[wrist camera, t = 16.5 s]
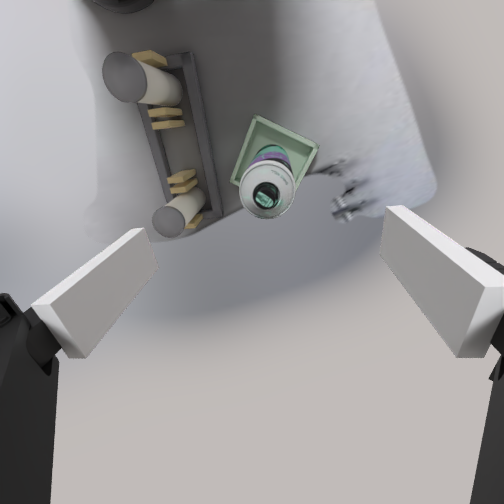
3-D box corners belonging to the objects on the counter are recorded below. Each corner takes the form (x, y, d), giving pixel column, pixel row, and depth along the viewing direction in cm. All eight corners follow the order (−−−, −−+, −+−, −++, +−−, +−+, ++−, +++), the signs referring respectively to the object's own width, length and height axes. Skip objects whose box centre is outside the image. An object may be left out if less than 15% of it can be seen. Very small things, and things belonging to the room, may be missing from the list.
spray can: (288, 180, 39) (295, 230, 22) (254, 180, 40) (235, 228, 22) (290, 144, 36) (301, 167, 19) (254, 143, 37) (232, 166, 19)
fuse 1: (158, 67, 34) (104, 43, 23) (186, 80, 34) (146, 63, 24) (152, 99, 36) (100, 91, 25) (179, 112, 36) (139, 109, 26)
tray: (255, 114, 35) (254, 113, 33) (317, 144, 37) (319, 145, 34) (231, 178, 40) (229, 182, 38) (286, 203, 41) (287, 208, 39)
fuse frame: (131, 66, 34) (104, 56, 29) (193, 54, 33) (177, 42, 28) (175, 218, 45) (162, 231, 40) (223, 214, 44) (216, 227, 38)
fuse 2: (186, 182, 41) (155, 203, 31) (209, 192, 42) (186, 216, 31) (180, 203, 43) (149, 230, 33) (202, 213, 44) (178, 242, 33)
